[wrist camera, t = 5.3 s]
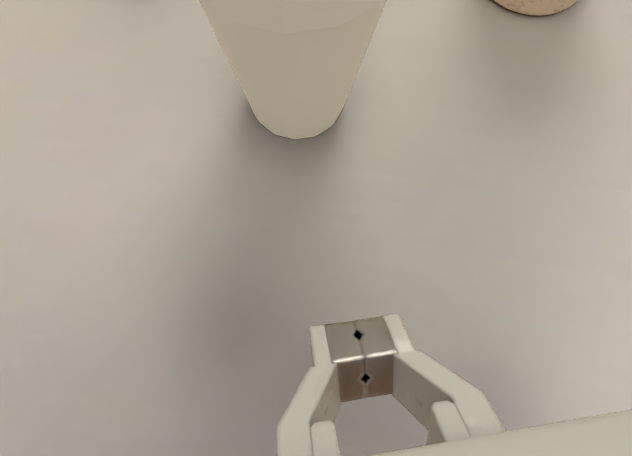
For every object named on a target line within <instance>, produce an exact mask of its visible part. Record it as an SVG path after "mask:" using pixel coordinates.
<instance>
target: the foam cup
mask: <svg viewBox="0 0 632 456" xmlns="http://www.w3.org/2000/svg"><path fill="white" fill-rule="evenodd" d="M199 2H200V4H201V6H202V8H203V10H204V12H205V14H206V16H207V18H208V20H209V22H210V24H211V26H212V28H213V30H214V32H215V34H216V36H217V38H218V41H219V43H220V45H221V47H222V49H223V51H224V53H225V55H226V57H227V59H228V61H229V63H230V65H231V67H232V69H233V71H234V73H235V75H236V77H237V79H238V81H239V84H240V86H241V88H242V90H243V92H244V94H245V96H246V98H247V100H248V102H249V104H250V106H251V108H252V110H253V112H254V114H255V116H256V117H257V120H258V122H260V123H261V124H262V125H263V126H265V127H266V128H267V129H268V130H269V131H271V132H272V133H273V134H275V135H279V136H283V137H287V138H291V139H294V140H295V139H301V138H308V137H315V136H317V135H319V134H320V133H322V132H323V131H325V130H326V129H328V128H330V127H331V126H333V124H334V123H335V121H336V119H337V118H338V116H339V114H340V113H341V111H342V109H343V106H344V105H345V103H346V100H347V98H348V95H349V93H350V90H351V88H352V85H353V83H354V80H355V78H356V75H357V73H358V70H359V68H360V65H361V63H362V60H363V58H364V55H365V53H366V50H367V48H368V45H369V43H370V40H371V38H372V35H373V33H374V30H375V28H376V25H377V23H378V20H379V18H380V15H381V13H382V10H383V8H384V5H385V3H386V0H199Z"/></svg>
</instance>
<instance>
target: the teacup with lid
mask: <svg viewBox="0 0 632 456" xmlns="http://www.w3.org/2000/svg"><path fill="white" fill-rule="evenodd" d="M494 1H495V2H496V3H498V4H500V5H501V6H503V7H505V8H507V9H509V10H512V11H515V12H518V13H521V14H526V15H549V14H554V13H557V12H560V11H562V10H565V9H566V8H568V7H570V6H571V5H573V4H574V3H575V2H576V1H577V0H494Z"/></svg>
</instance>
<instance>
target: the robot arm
mask: <svg viewBox="0 0 632 456" xmlns="http://www.w3.org/2000/svg"><path fill="white" fill-rule="evenodd" d="M309 334H310V342H311V349H312V357H313V364H314V367H310V368H309V370H308V371H307V373H306V375H305V377H304V379H303V380H302V382H301V384H300V386H299V387H298V389H297V391H296V393H295V395H294V396H293V398H292V400H291V402H290V404H289V405H288V407H287V409H286V411H285V412H284V414H283V416H282V418H281V420H280V421H279V423H278V425H277V427H276V454H277V456H340V451H339V446H338V440H337V435H336V429H335V424H334V421H335V418H336V415H337V413H338V410H339V407H340V402H346V401H351V400H356V399H361V398H366V397H374V396H381V395H388V394H392V395H393V396H394V397H395V398H396V399H397V400H398V401H399V402H400V403H401V404H402V405H403V406H404V407H405V408H406V409H407V410H408V411H409V412H410V413H411V414H412V415H413V416H414V417H415V418H416V419H417V420H418V421H419V422H420V423H421V424H422V425H423V426H424V427H425V428H426V429H427V430H428V440H427V445H425V446H420V447H414V448H408V449H403V450H397V451H391V452H385V453H380V454H374V455H368V456H632V409H631V410H625V411H619V412H614V413H608V414H602V415H596V416H591V417H585V418H579V419H574V420H568V421H562V422H556V423H551V424H545V425H539V426H533V427H528V428H522V429H516V430H511V431H506V430H505V429H504V427H503V425H502V424H501V422H500V420H499V418H498V417H497V415H496V413H495V412H494V410H493V408H492V407H491V405H490V403H489V401H488V400H487V398H486V396H485V395H484V393H483V392H481V391H480V390H478V389H477V388H475V387H474V386H472V385H471V384H469V383H468V382H466V381H465V380H463V379H462V378H460V377H459V376H457V375H456V374H454V373H453V372H451V371H450V370H448V369H447V368H445V367H444V366H443V365H441V364H440V363H438V362H437V361H435V360H434V359H432V358H431V357H429V356H428V355H426V354H425V353H423V352H422V351H420V350H416V351H415V349H414V347H413V345H412V343H411V340H410V338H409V336H408V334H407V332H406V330H405V327H404V325H403V323H402V321H401V319H400V316H399V315H398V314H391V315H385V316H379V317H373V318H367V319H361V320H355V321H349V322H341V323H334V324H326V325H321V326H312V327H309Z"/></svg>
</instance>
